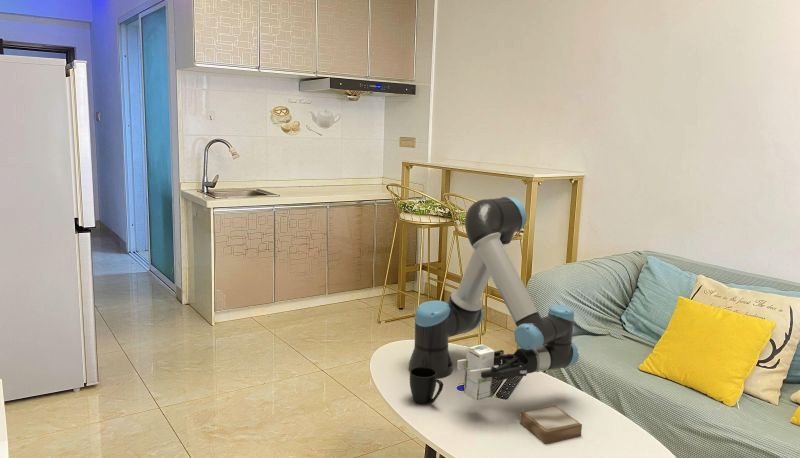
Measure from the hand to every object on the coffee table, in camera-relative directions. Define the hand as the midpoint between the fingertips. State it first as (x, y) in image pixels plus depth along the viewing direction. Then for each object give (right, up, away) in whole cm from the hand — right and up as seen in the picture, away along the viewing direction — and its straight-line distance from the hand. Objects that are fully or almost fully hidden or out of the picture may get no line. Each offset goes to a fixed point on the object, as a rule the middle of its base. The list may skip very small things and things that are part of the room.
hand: (464, 370), depth 173 cm
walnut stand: (+24, -17, -1) cm, 29 cm away
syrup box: (+4, -8, +4) cm, 10 cm away
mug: (-10, -13, +13) cm, 21 cm away
